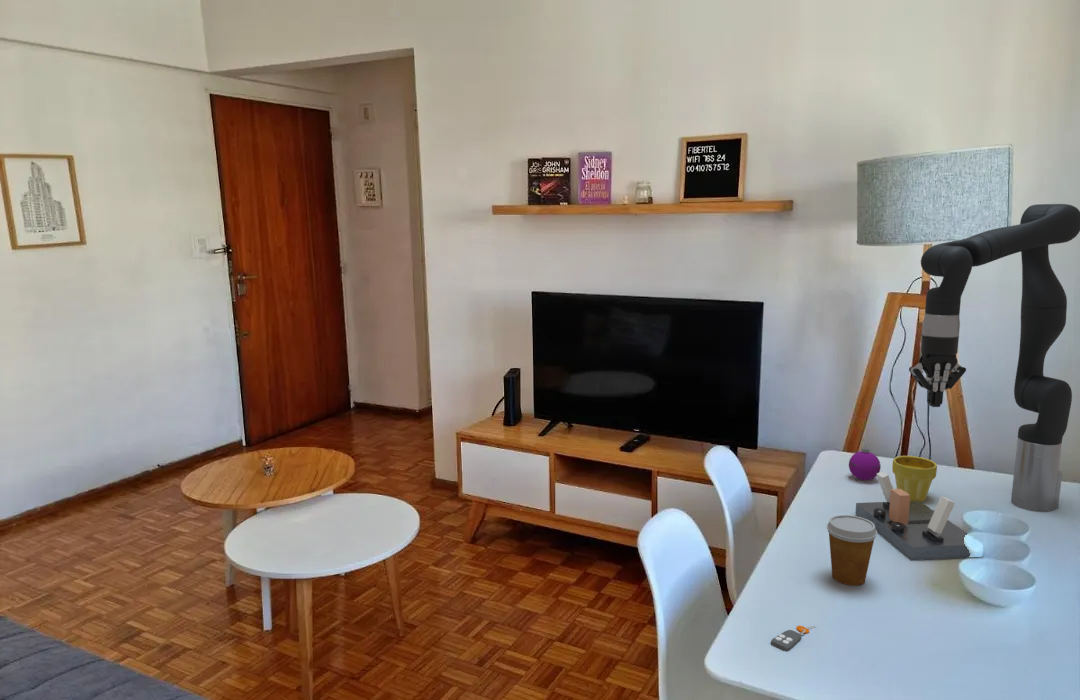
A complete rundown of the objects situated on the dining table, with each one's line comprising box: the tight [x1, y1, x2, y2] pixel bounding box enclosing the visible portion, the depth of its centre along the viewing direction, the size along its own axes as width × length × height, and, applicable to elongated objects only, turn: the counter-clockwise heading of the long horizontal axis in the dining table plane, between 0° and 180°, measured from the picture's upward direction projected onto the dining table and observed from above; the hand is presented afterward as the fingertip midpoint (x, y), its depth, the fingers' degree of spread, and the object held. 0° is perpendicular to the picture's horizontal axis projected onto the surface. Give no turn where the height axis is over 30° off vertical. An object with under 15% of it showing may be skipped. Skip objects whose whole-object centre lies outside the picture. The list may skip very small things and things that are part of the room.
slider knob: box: [889, 488, 910, 525], centre depth 170 cm, size 2×4×7 cm, turn 4°
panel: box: [854, 501, 970, 561], centre depth 172 cm, size 16×25×4 cm, turn 3°
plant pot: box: [892, 455, 938, 503], centre depth 193 cm, size 10×10×10 cm
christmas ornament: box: [848, 445, 882, 481], centre depth 207 cm, size 8×8×10 cm
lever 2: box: [927, 495, 955, 538], centre depth 162 cm, size 2×4×8 cm, turn 4°
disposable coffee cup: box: [826, 514, 878, 586], centre depth 151 cm, size 10×10×12 cm
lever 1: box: [876, 471, 894, 503], centre depth 179 cm, size 2×4×8 cm, turn 3°
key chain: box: [770, 625, 817, 652], centre depth 132 cm, size 13×4×2 cm, turn 132°
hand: (934, 406), depth 173 cm, fingers closed
